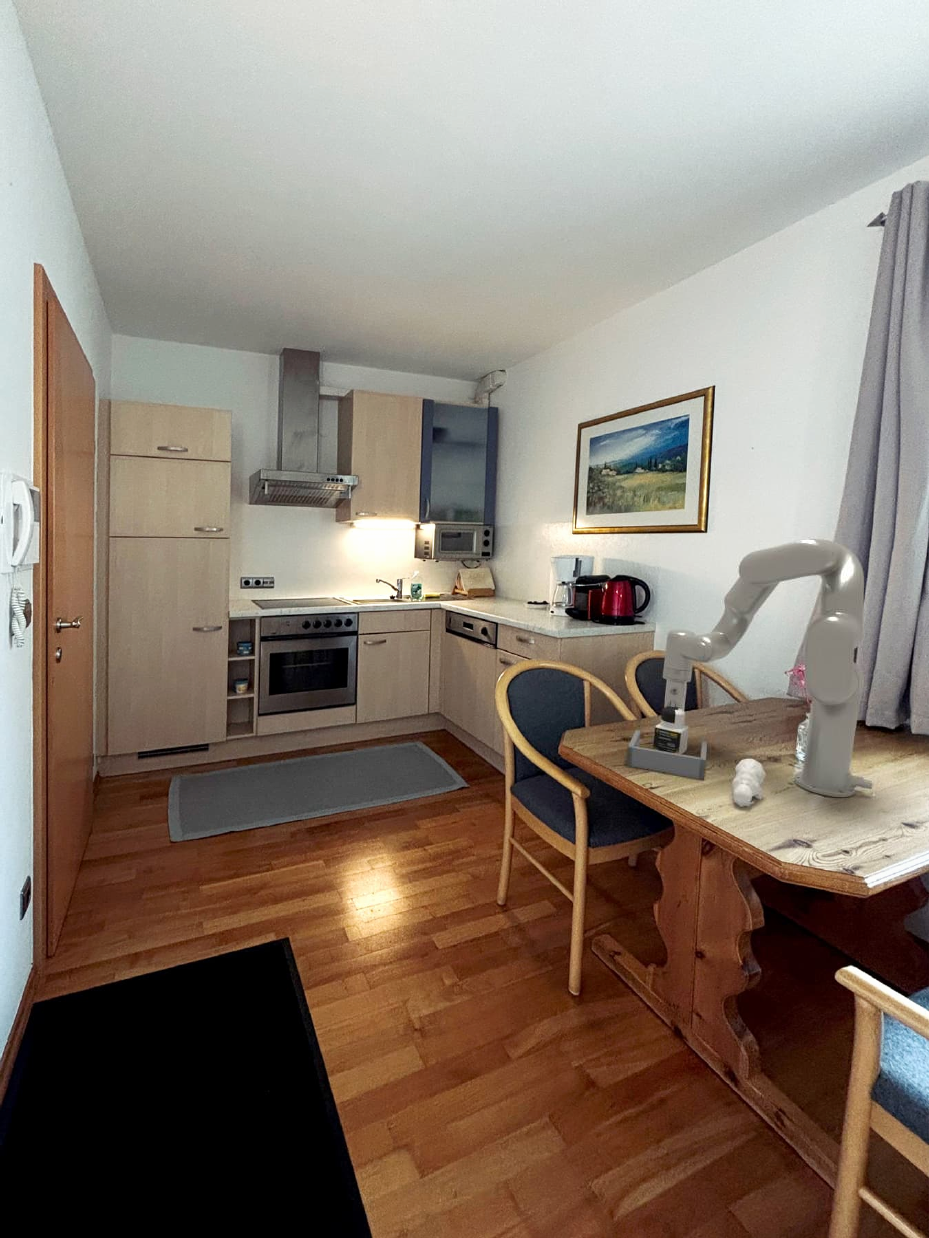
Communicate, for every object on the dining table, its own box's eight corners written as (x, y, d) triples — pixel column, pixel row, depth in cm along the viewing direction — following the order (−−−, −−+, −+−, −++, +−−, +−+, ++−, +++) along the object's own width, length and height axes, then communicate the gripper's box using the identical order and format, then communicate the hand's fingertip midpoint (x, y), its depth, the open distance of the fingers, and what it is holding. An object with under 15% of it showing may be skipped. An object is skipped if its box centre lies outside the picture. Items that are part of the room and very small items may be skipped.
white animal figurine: (767, 759, 138) (759, 780, 128) (764, 793, 140) (755, 816, 130) (738, 752, 141) (727, 773, 131) (734, 786, 143) (724, 808, 133)
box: (705, 759, 160) (707, 741, 160) (703, 779, 146) (705, 760, 146) (634, 747, 167) (635, 729, 167) (626, 765, 153) (628, 746, 153)
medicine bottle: (652, 750, 165) (656, 708, 163) (661, 744, 171) (665, 703, 169) (678, 757, 161) (682, 714, 159) (686, 750, 167) (691, 708, 165)
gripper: (689, 681, 161) (682, 746, 164) (692, 670, 175) (685, 731, 177) (660, 677, 164) (653, 741, 167) (665, 666, 178) (659, 726, 180)
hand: (670, 736), depth 172 cm, fingers closed
